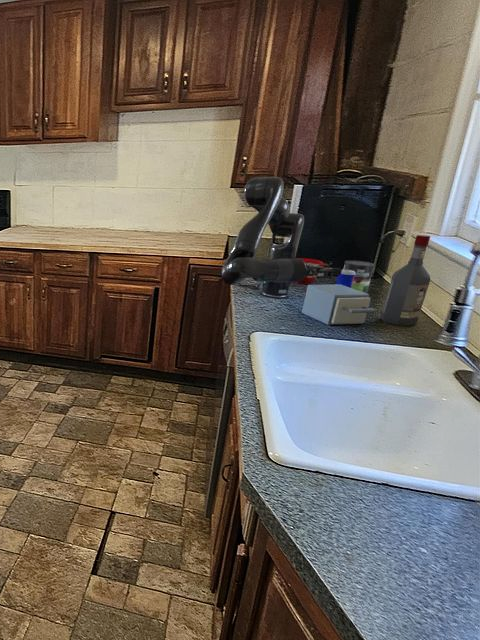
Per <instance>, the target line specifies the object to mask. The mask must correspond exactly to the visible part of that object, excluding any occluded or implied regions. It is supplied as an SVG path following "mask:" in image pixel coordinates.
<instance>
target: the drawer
mask: <svg viewBox="0 0 480 640" xmlns="http://www.w3.org/2000/svg"><path fill="white" fill-rule="evenodd" d="M371 300H372V298H371V297H370V296H369V297H364V298H363V297H336V301H335V305H334V309H333V313H332V317H331V323H333V324H336V325H341V324H340V323H362V324H364V323H365V321H366V318H367V314H373V313H375V311H376V310H375V309H374V308H369V307H370V303H371Z"/></svg>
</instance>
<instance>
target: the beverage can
mask: <svg viewBox="0 0 480 640" xmlns="http://www.w3.org/2000/svg"><path fill="white" fill-rule="evenodd" d="M341 269H342V268H341ZM354 276H355V271H353V270H346V269H344V268H343V269H342V272H341V275H337V277H336V282H335V284H341V285H344V286H346V287H349V288H352V284H353V280H354Z"/></svg>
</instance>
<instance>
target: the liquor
mask: <svg viewBox="0 0 480 640" xmlns="http://www.w3.org/2000/svg"><path fill="white" fill-rule="evenodd" d="M430 239H431V236H430V235H425V234H417V235H416V237H415V240H414V244H413V249H412V252H411V255H410V257H409V260H408V261H407V264H405V265H403V266H402V267H400V268H399V269H398V270H396V271H394V273H393V274H392V275H391V278H390V282H389V286H388V289H387V290H388V291H387V293H386V297H385V299H384V302H383V303H384V304H383V307H382V310H381V313H380V319H381V321H382V322H384V323H387V324H390V325H395V326H399V327H400V326H402V327H408V326H414V325H416V324H417V323H418V321H419V317H420V314H421V311H422V307H423V305H424V301H425V299H426V296H427V292H428V290H429V289H428V288H429V285H430V282H431V275H430V274H429V273H428V271H427V270H426V268H425V267H424V258H425V254H426V251H427V247H428V246H429V243H430Z"/></svg>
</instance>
